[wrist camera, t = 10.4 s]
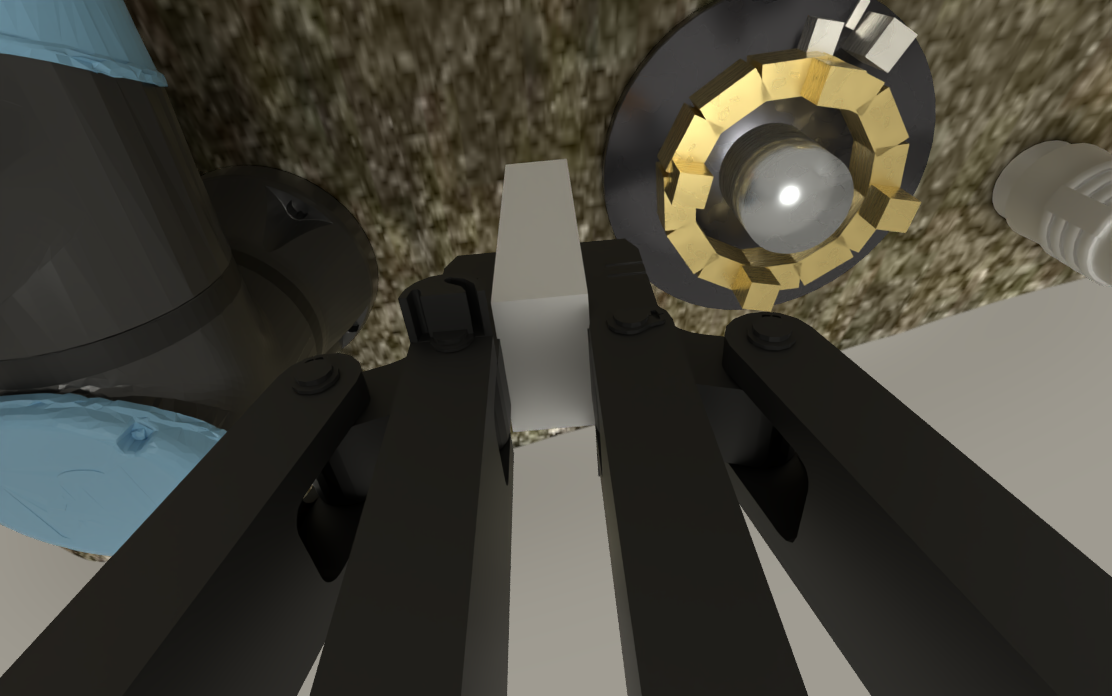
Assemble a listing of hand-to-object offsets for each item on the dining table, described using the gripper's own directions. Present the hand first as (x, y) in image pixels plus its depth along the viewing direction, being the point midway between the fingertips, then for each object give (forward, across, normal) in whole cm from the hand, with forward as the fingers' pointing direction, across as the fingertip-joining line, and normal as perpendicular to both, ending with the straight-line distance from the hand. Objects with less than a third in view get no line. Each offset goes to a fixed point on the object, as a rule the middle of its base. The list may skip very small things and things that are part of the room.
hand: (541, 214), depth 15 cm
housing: (+26, +15, -9) cm, 31 cm away
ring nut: (+25, +15, -9) cm, 30 cm away
